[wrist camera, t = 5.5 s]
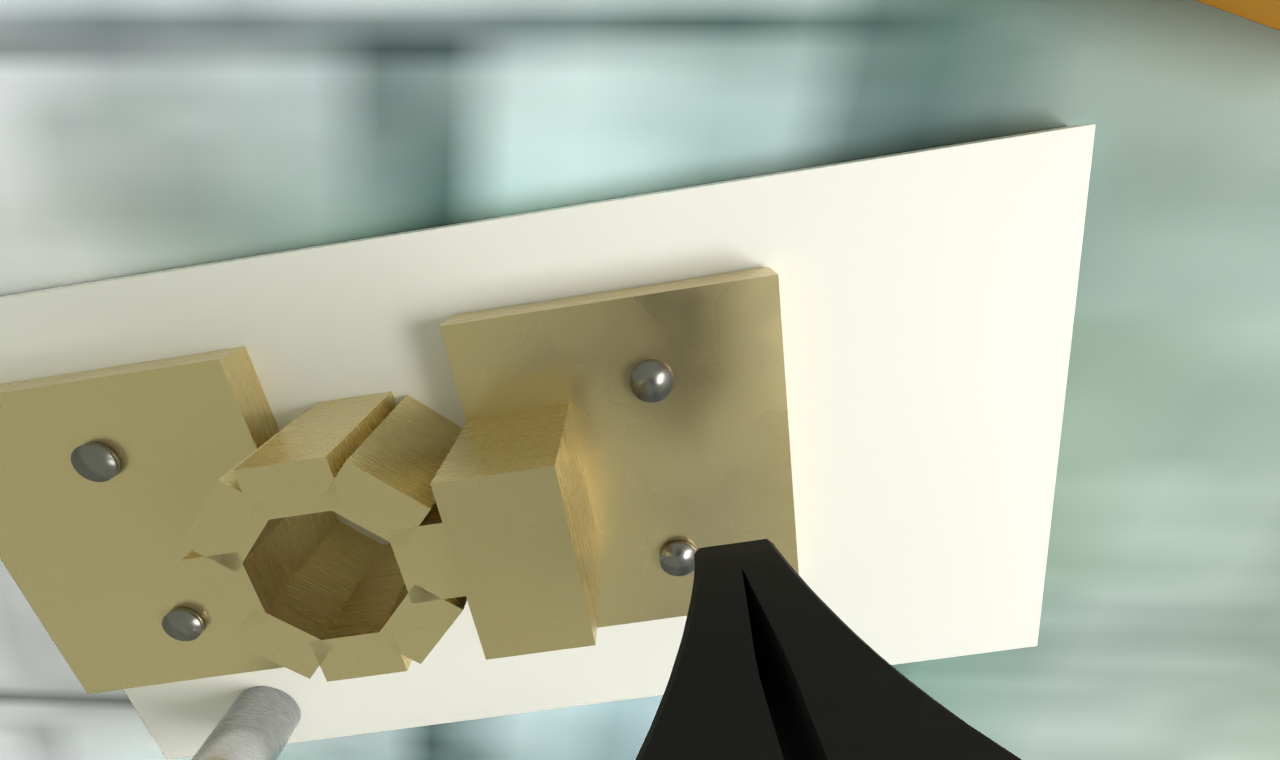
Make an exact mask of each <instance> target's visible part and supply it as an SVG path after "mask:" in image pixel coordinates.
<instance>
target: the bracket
mask: <svg viewBox="0 0 1280 760" xmlns="http://www.w3.org/2000/svg"><path fill="white" fill-rule="evenodd" d="M1197 1H1199V2H1202V3H1205V4H1208V5H1210V6H1213V7H1216V8H1219V9H1221V10H1224V11H1227V12H1230V13H1233V14H1235V15H1238V16H1241V17H1244V18H1246V19H1249V20H1252V21H1255V22H1257V23H1260V24H1263V25H1266V26H1269V27H1271V28H1274V29H1277V30H1280V0H1197Z"/></svg>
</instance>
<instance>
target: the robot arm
mask: <svg viewBox="0 0 1280 760" xmlns="http://www.w3.org/2000/svg"><path fill="white" fill-rule="evenodd" d="M694 561H695V567H694V581H693V588H692V594H691V601H690V605H689V610H688V614H687V619H686V623H685V627H684V632H683V636H682V639H681V643H680V646H679V649H678V652H677V656H676V659H675V662H674V665H673V668H672V672H671V675H670V678H669V681H668V684H667V686H666V689H665V692H664V695H663V697H662V700H661V703H660V705H659V708H658V710H657V713H656V715H655V717H654V720H653V722H652V725H651V727H650V730H649V732H648V734H647V736H646V738H645V741H644V743H643V745H642V747H641V749H640V751H639V753H638V756H637V758H636V760H1021V759H1020V758H1018V757H1017V756H1015V755H1014V754H1012V753H1011V752H1009V751H1008V750H1006V749H1005V748H1003V747H1001V746H1000V745H998V744H997V743H995V742H994V741H992V740H991V739H989V738H988V737H986V736H985V735H983V734H982V733H980V732H979V731H977V730H976V729H974V728H973V727H971V726H970V725H968V724H967V723H965V722H964V721H963V720H961V719H960V718H959V717H957V716H956V715H954V714H953V713H952V712H950V711H949V710H948V709H946V708H945V707H943V706H942V705H941V704H939V703H938V702H937V701H935V700H934V699H933V698H931V697H930V696H929V695H928V694H926V693H925V692H924V691H922V690H921V689H920V688H919V687H917V686H916V685H915V684H913V683H912V682H911V681H910V680H908V679H907V678H906V677H905V676H903V675H902V674H901V673H900V672H899V671H897V670H896V669H895V668H894V667H893V666H891V665H890V664H889V663H888V662H887V661H886V660H884V659H883V658H882V657H881V656H880V655H879V654H878V653H876V652H875V651H874V650H873V649H872V648H871V647H870V646H869V645H868V644H867V643H865V642H864V641H863V640H862V639H861V638H860V637H859V636H858V635H857V634H856V633H855V632H853V631H852V630H851V629H850V628H849V627H848V626H847V625H846V624H845V623H844V622H843V621H842V620H841V619H840V618H839V617H838V616H837V615H836V614H835V613H834V612H833V611H832V610H831V609H830V608H829V607H828V606H827V605H826V604H825V603H824V602H823V601H822V600H821V599H820V598H819V597H818V596H817V595H816V593H815V592H814V591H813V590H812V589H811V588H810V587H809V586H808V585H807V584H806V583H805V581H804V580H803V579H802V578H801V577H800V576H799V575H798V573H797V572H796V571H795V570H794V569H793V568H792V566H791V565H790V564H789V563H788V562H787V560H786V559H785V558H784V557H783V556H782V554H781V553H780V552H779V550H778V549H777V548H776V546H775V545H774V544H773V543H772V542H771V541H769V540H768V539H761V540H754V541H747V542H739V543H732V544H725V545H718V546H711V547H703V548H699V549H698V550H697V551H696V552H695V553H694Z"/></svg>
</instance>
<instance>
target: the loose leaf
mask: <svg viewBox="0 0 1280 760" xmlns="http://www.w3.org/2000/svg"><path fill="white" fill-rule="evenodd" d="M439 327H440V330H441V334H442V337H443V341H444V344H445V348H446V352H447V355H448V359H449V362H450V366H451V369H452V373H453V377H454V380H455V384H456V387H457V391H458V394H459V398H460V402H461V405H462V409H463V412H464V416H465V419H466V425H465V427H464V428H463V430H462V432H461V433H460V435H459V437H458V438H457V440H456V442H455V443H454V445H453V447H452V448H451V450H450V452H449V453H448V455H447V457H446V458H445V460H444V462H443V463H442V465H441V467H440V468H439V470H438V472H437V473H436V475H435V476H434V478H433V480H432V481H431V483H430V485H431V488H432V491H433V494H434V498H435V501H436V504H437V507H438V510H439V513H440V516H441V520H442V523H443V526H444V529H445V532H446V535H447V539H448V542H449V545H450V548H451V551H452V554H453V557H454V561H455V564H456V567H457V570H458V573H459V576H460V580H461V583H462V586H463V589H464V592H465V595H466V598H467V602H468V605H469V608H470V611H471V614H472V617H473V621H474V624H475V627H476V630H477V633H478V636H479V639H480V643H481V646H482V649H483V652H484V655H485V658H486V660H489V659H496V658H503V657H511V656H518V655H526V654H533V653H541V652H548V651H556V650H563V649H571V648H578V647H586V646H593V645H596V633H597V628H599V627H607V626H614V625H621V624H629V623H636V622H644V621H651V620H659V619H666V618H673V617H681V616H687V614H688V610H689V605H690V601H691V594H692V588H693V581H694V567H695V561H694V553H695V552H696V551H697V550H698V549H699V548H703V547H711V546H718V545H725V544H732V543H739V542H747V541H754V540H761V539H768V540H769V541H771V542H772V543H773V544H774V545H775V546H776V548H777V549H778V550H779V552H780V553H781V554H782V556H783V557H784V558H785V559H786V560H787V562H788V563H789V564H790V565H791V566H792V568H793V569H794V570H795V571H796V572H797V573H798V575H799V571H798V556H797V541H796V527H795V512H794V497H793V483H792V468H791V453H790V439H789V424H788V409H787V395H786V380H785V365H784V351H783V336H782V322H781V307H780V292H779V278H778V274H777V273H776V272H775V271H773V270H772V269H771V268H769V267H761V268H755V269H748V270H742V271H735V272H729V273H722V274H716V275H709V276H703V277H696V278H690V279H683V280H677V281H670V282H664V283H657V284H651V285H644V286H638V287H631V288H625V289H618V290H612V291H605V292H599V293H592V294H586V295H579V296H573V297H566V298H560V299H553V300H547V301H540V302H534V303H528V304H521V305H515V306H508V307H502V308H495V309H489V310H482V311H476V312H469V313H463V314H456V315H451V316H450V317H449V318H448V319H447V320H446V321H445V322H444V323H443V324H441V325H440V326H439Z"/></svg>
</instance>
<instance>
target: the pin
mask: <svg viewBox="0 0 1280 760" xmlns="http://www.w3.org/2000/svg"><path fill="white" fill-rule="evenodd" d="M300 718H301V711H300V708H299V706H298V704H297V703H296V701H295V700H294V699H293V698H292V697H290V696H289V695H288V694H286V693H284V692H283V691H280V690H278V689H275V688H271V687H264V686H259V687H252V688H249V689H246V690H245V691H243V692H242V693H241V694H240V695H239V696H238V697H237V699H236V700H235V701H234V703H233V704H232V705H231V707H230V708H229V709H228V711H227V712H226V713H225V715H224V716H223V717H222V719H221V720H220V721H219V723H218V724H217V725H216V727H215V728H214V730H213V731H212V732H211V734H210V735H209V736H208V738H207V739H206V740H205V742H204V743H203V744H202V746H201V747H200V748H199V750H198V751H197V752H196V754H195V755H194V756H193V758H192V759H191V760H277V758H278V757H279V755H280V753H281V752H282V750H283V748H284V747H285V745H286V743H287V742H288V740H289V738H290V737H291V735H292V733H293V732H294V730H295V728H296V727H297V725H298V723H299V721H300Z"/></svg>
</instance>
